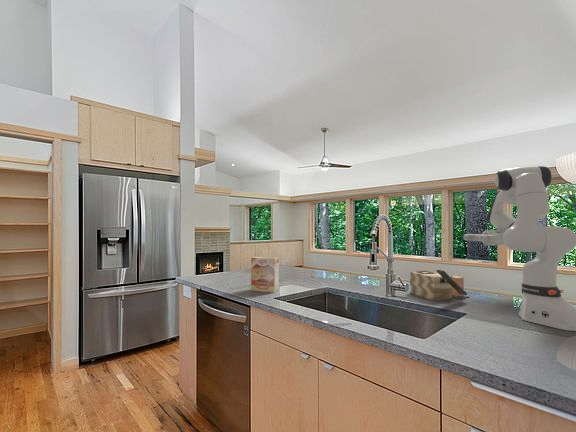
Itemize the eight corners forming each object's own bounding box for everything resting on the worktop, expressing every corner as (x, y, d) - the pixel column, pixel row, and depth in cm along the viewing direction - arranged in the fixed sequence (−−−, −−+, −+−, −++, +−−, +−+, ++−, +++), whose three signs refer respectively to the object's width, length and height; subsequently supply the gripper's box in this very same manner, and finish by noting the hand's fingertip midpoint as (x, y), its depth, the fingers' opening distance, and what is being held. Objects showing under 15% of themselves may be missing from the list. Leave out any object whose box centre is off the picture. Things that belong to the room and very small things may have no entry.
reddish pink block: (463, 295, 169) (463, 277, 170) (456, 296, 168) (456, 277, 168) (456, 293, 174) (456, 276, 174) (449, 294, 173) (449, 276, 173)
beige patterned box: (452, 298, 165) (452, 275, 165) (434, 300, 161) (433, 276, 162) (427, 291, 182) (427, 270, 183) (410, 292, 179) (410, 270, 179)
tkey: (467, 293, 158) (444, 270, 154) (465, 295, 158) (442, 273, 154) (455, 290, 165) (432, 268, 161) (453, 292, 165) (431, 270, 161)
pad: (469, 297, 168) (469, 296, 168) (456, 298, 165) (456, 297, 165) (456, 293, 177) (456, 292, 177) (443, 294, 174) (443, 293, 174)
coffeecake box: (250, 290, 181) (250, 257, 182) (255, 288, 188) (255, 256, 189) (274, 292, 177) (274, 258, 177) (278, 290, 183) (279, 257, 184)
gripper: (474, 231, 189) (456, 231, 185) (506, 232, 170) (487, 233, 166) (474, 242, 189) (456, 242, 185) (507, 244, 170) (487, 244, 166)
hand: (471, 238), depth 175 cm, fingers open, 8 cm apart
